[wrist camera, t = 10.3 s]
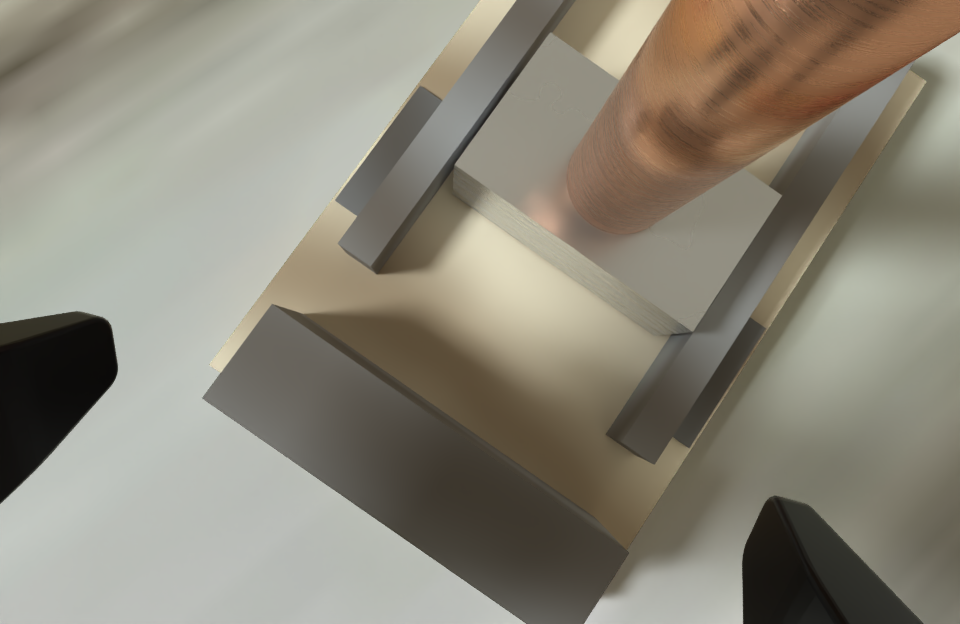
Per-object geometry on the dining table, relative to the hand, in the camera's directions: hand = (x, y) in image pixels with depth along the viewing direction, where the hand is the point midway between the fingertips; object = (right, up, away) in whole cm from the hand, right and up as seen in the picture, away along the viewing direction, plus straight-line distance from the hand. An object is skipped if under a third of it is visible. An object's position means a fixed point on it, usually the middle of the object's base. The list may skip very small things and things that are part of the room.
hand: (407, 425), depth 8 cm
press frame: (+4, +4, +11) cm, 12 cm away
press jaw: (+4, +4, +9) cm, 11 cm away
